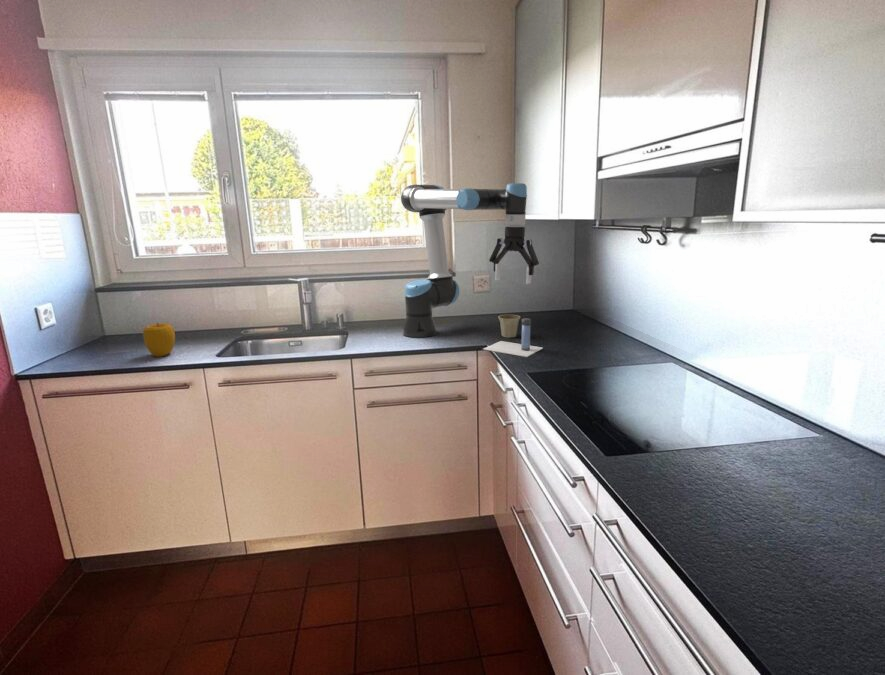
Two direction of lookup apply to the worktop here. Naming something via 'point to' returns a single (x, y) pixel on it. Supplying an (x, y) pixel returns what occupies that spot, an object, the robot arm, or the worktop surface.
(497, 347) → the paper
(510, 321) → the flower pot
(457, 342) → the worktop surface
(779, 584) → the worktop surface
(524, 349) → the cylinder
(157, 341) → the apple
